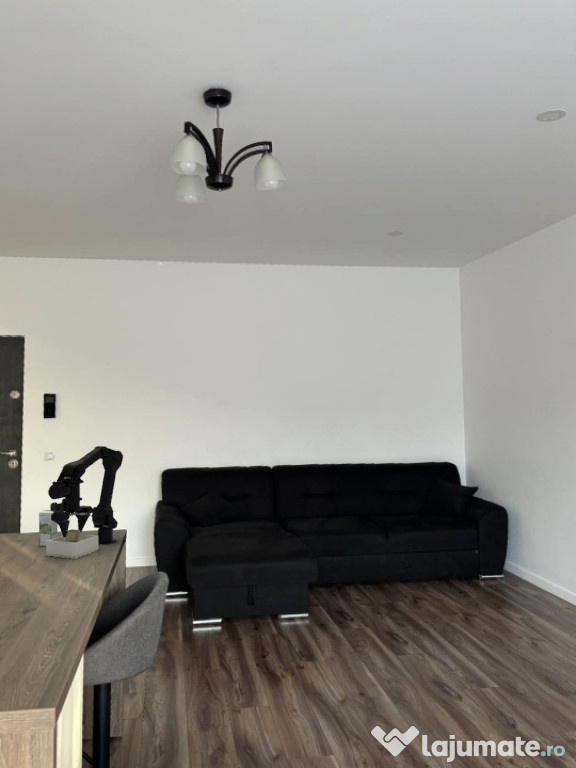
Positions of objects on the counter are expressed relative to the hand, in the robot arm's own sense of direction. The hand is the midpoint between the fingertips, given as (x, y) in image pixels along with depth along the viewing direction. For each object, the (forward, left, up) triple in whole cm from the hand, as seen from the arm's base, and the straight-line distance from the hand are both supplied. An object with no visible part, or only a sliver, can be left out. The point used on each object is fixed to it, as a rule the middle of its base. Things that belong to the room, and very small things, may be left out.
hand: (72, 534), depth 252 cm
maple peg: (0, 0, -6) cm, 6 cm away
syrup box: (-8, -19, -8) cm, 22 cm away
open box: (0, 0, -7) cm, 7 cm away
